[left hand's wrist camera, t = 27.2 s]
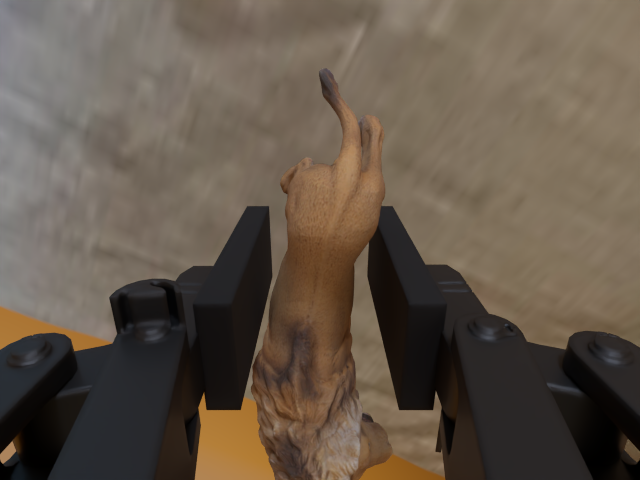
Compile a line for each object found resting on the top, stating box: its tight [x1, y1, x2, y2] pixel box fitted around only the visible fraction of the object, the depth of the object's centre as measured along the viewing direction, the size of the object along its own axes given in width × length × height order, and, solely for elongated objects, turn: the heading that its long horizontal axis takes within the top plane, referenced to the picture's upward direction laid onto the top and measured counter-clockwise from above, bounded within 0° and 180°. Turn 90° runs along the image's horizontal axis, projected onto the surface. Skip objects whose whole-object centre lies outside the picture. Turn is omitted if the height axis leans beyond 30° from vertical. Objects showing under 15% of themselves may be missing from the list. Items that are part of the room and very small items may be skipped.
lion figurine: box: [251, 68, 392, 480], centre depth 12 cm, size 12×4×7 cm, turn 1°
